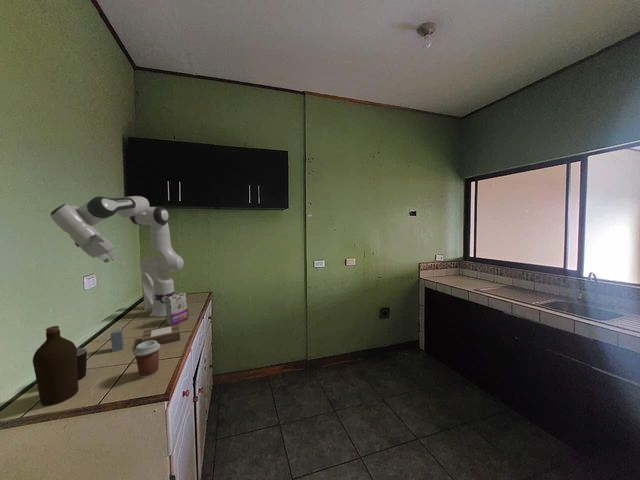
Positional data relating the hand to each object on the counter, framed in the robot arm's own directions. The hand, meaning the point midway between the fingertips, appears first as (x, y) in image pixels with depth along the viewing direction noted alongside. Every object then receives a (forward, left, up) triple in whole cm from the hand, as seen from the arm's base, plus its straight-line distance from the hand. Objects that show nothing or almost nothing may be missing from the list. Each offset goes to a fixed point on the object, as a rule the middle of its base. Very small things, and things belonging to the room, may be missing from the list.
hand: (111, 260), depth 122 cm
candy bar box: (-21, +26, -43) cm, 55 cm away
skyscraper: (-63, +10, -43) cm, 77 cm away
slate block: (+2, 0, -43) cm, 43 cm away
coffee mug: (+21, -12, -43) cm, 49 cm away
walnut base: (+2, +18, -43) cm, 46 cm away
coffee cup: (+35, +14, -43) cm, 57 cm away
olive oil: (+34, -12, -43) cm, 56 cm away
